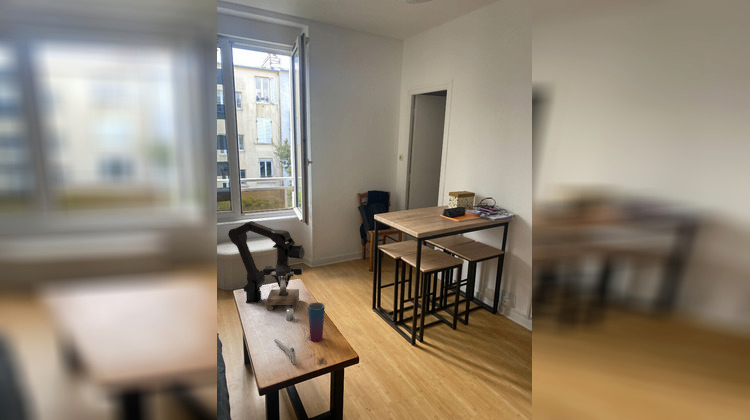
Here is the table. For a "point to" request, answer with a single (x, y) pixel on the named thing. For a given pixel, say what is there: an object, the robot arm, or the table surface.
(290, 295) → the board
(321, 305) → the cup
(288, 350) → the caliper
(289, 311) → the short pin
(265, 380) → the table surface
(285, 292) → the long pin
